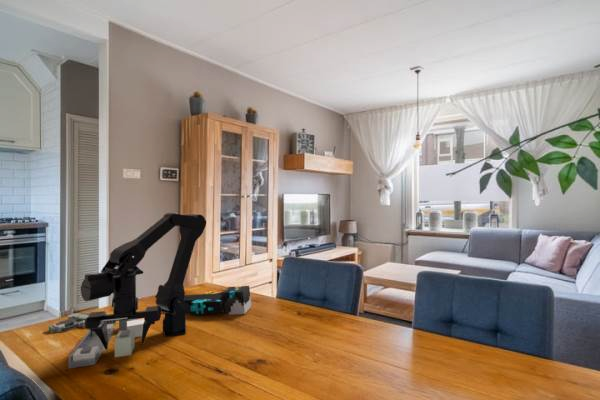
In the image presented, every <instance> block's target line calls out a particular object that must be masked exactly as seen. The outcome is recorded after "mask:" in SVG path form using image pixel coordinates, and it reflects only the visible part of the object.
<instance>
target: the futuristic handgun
mask: <svg viewBox="0 0 600 400" xmlns="http://www.w3.org/2000/svg"><path fill="white" fill-rule="evenodd" d="M91 313H92V312H89V313H76V312H75V313H72V314H69V315H68V316H67V319H64V320H62V321H59V322H56V323H53V324H50V325H48V332H49V333H51V334H55V333H61V332H66V331H69V330H73V329H76V328H81V327H82V328H84V322H85V319H86V318H87V317H88V316H89V315H90V314H91ZM107 324H113V325H114V326H116V325H117V321H110V322H107Z"/></svg>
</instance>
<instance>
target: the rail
mask: <svg viewBox="0 0 600 400" xmlns="http://www.w3.org/2000/svg"><path fill="white" fill-rule="evenodd" d="M114 333H115V327H114V326H113V324H107V335H108V343H109V342H110V340H111V338H112V337H113V335H114ZM104 350H106V349H105V348H104V346H103V344H102V342H101V340H100V339H99V337H98V336H97V335H96V333H95V332H94V331H90V329H88V331H87V332H86V334H85V335H84V336H83V337H82V339H81V340H80V341H79V342H78V344H77V345H76V346H75V347H74V348H73V350H72V351H71V353H70V354H69V355H68V357H67V358H68V359H67V364H68V367H67V368H68V369H74V368H80V367H88V366H95V365H96V364H97V362H98V361H99V358H100V357H101V356H102V354H103V352H104Z"/></svg>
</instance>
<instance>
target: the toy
mask: <svg viewBox="0 0 600 400" xmlns="http://www.w3.org/2000/svg"><path fill="white" fill-rule="evenodd" d="M184 301H185V302H186V303H187V304H188V305H190V306H191V309H190V313H191V315H202V314H220V313H221V314H222V313H223V314H222V315H228V316H229V315H232V316H233V315H245V314H247V312H248V311H249V310H250V308H251V307H252V301H251V291H250V285H241V286H240V285H238V286H228V287H227V288H226V289H224V290H212V291H211V290H210V291H206V292H204V293H202V294H201V293H200V294H199V293H198V294H185V296H184Z"/></svg>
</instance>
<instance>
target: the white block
mask: <svg viewBox="0 0 600 400" xmlns="http://www.w3.org/2000/svg"><path fill="white" fill-rule="evenodd" d="M138 319H139V318H138ZM138 319H129V320H119V321H118V332H119V331H123V330H127V321H132V320H138Z"/></svg>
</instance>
